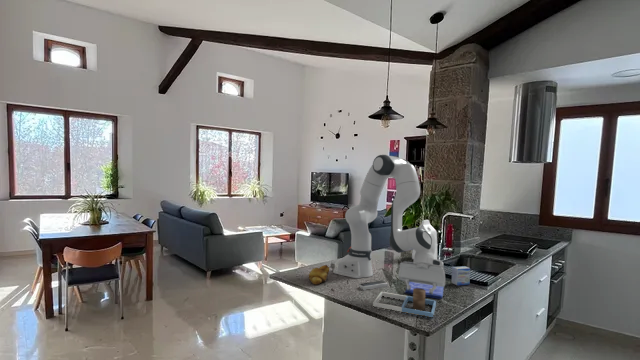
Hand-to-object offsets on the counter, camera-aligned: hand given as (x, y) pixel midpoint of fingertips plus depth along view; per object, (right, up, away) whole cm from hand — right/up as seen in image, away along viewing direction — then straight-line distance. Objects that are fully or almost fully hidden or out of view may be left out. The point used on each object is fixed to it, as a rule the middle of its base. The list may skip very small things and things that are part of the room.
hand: (419, 291), depth 147 cm
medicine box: (+30, -6, +30) cm, 43 cm away
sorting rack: (-7, -6, -1) cm, 9 cm away
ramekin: (+20, -5, +47) cm, 52 cm away
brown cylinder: (-1, -6, -3) cm, 7 cm away
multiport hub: (-17, -6, +23) cm, 29 cm away
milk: (+26, -4, +78) cm, 82 cm away
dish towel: (+9, -6, +22) cm, 25 cm away
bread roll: (-45, -5, +29) cm, 53 cm away
